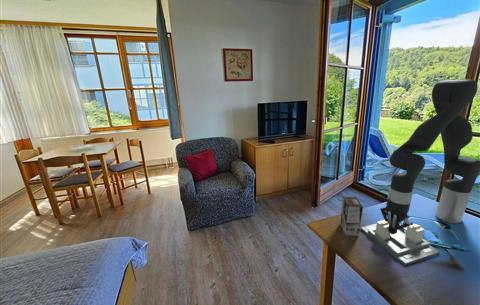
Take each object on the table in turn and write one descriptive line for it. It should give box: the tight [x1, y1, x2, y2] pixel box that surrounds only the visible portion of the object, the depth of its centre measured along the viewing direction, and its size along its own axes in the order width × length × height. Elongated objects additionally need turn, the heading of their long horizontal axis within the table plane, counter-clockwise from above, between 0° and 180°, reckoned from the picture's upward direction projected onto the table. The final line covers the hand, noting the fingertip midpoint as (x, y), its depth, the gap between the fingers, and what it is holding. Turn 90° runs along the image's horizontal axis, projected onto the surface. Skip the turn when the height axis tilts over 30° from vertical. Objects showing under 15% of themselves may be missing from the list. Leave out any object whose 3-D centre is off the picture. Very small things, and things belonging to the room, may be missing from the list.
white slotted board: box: [360, 223, 441, 266], centre depth 91 cm, size 18×22×3 cm
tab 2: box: [405, 223, 426, 244], centre depth 88 cm, size 4×4×8 cm
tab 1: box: [375, 219, 391, 240], centre depth 92 cm, size 4×4×8 cm
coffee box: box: [339, 196, 364, 237], centre depth 98 cm, size 9×6×16 cm
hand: (392, 232), depth 88 cm, fingers closed
